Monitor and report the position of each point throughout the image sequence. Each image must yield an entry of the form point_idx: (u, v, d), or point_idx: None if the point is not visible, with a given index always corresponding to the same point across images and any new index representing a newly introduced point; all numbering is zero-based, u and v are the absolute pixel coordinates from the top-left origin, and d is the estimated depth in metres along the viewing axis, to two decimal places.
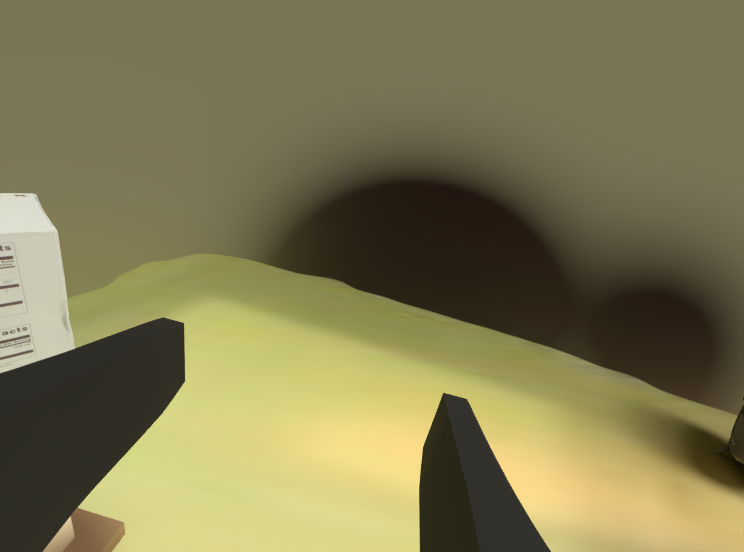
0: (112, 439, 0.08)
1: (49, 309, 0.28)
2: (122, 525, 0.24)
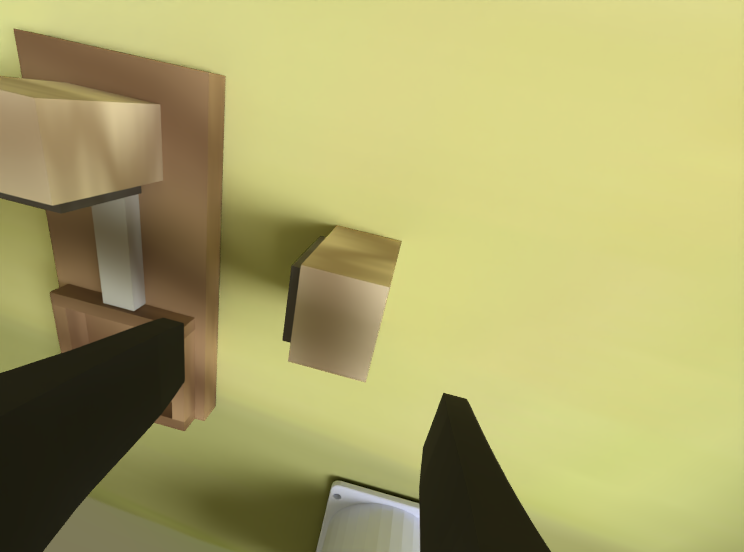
0: (112, 439, 0.08)
1: None
2: (210, 76, 0.14)
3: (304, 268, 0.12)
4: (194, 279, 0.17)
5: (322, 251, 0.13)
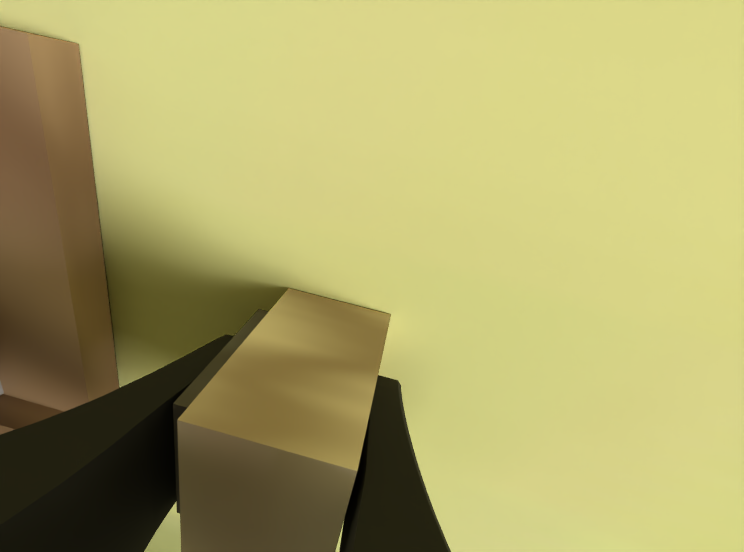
0: None
1: None
2: (34, 40, 0.08)
3: (185, 425, 0.06)
4: (66, 364, 0.11)
5: (240, 364, 0.07)
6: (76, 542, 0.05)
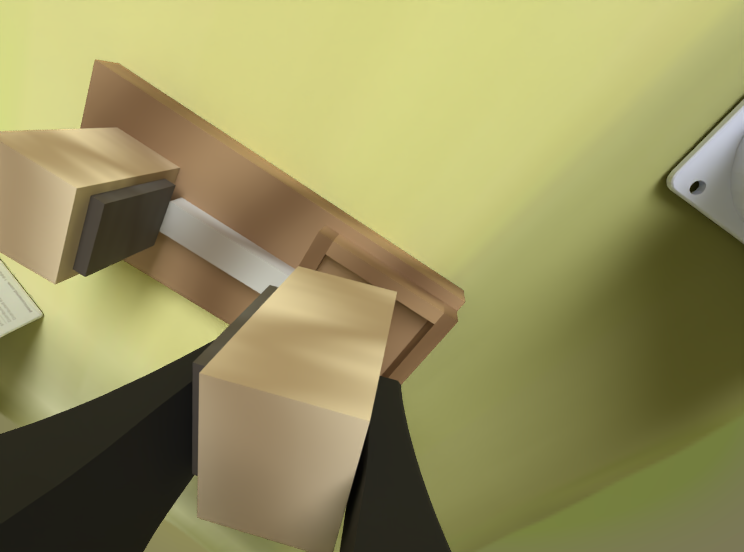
0: (186, 461, 0.08)
1: None
2: (100, 61, 0.15)
3: (206, 379, 0.06)
4: (282, 197, 0.16)
5: (255, 329, 0.08)
6: (75, 542, 0.05)
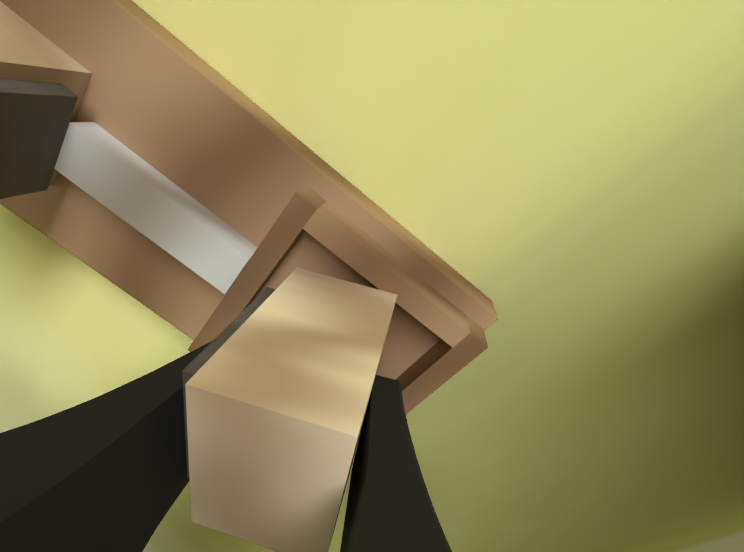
0: (185, 460, 0.08)
1: None
2: None
3: (192, 390, 0.06)
4: (245, 136, 0.10)
5: (247, 336, 0.07)
6: (74, 541, 0.05)
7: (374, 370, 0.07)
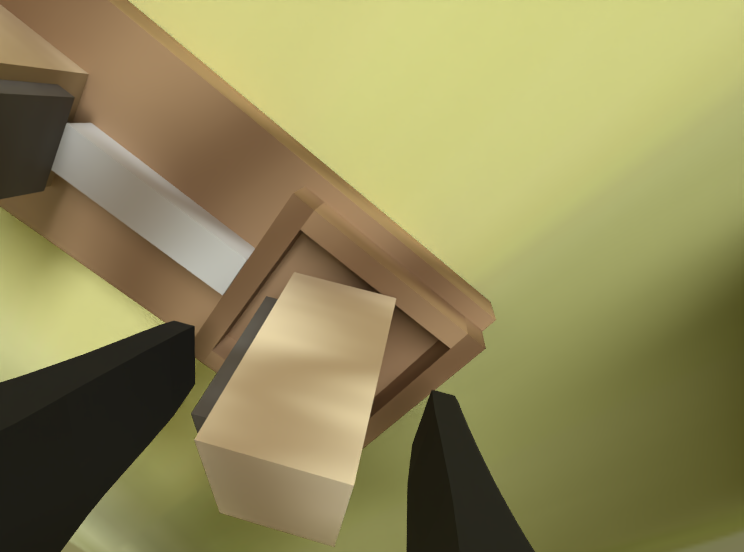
0: (125, 443, 0.08)
1: None
2: None
3: (201, 443, 0.07)
4: (243, 137, 0.10)
5: (248, 373, 0.08)
6: None
7: (370, 403, 0.08)
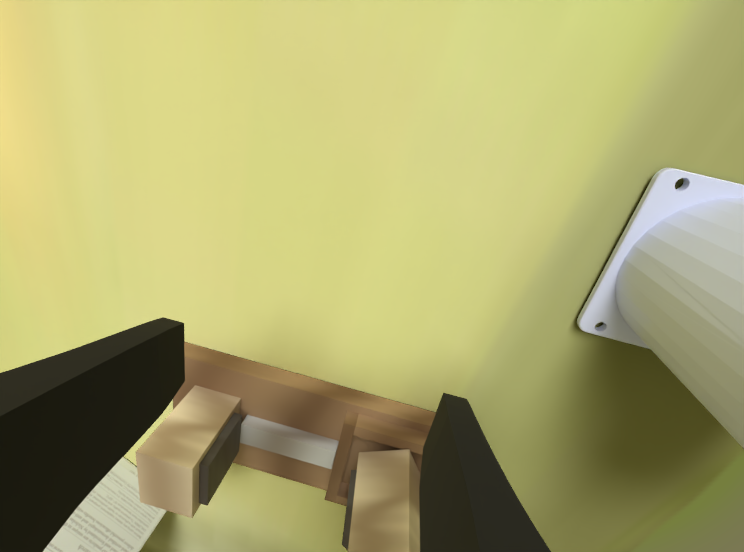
0: (112, 439, 0.08)
1: None
2: None
3: None
4: (312, 400, 0.22)
5: (356, 519, 0.19)
6: None
7: (408, 516, 0.18)
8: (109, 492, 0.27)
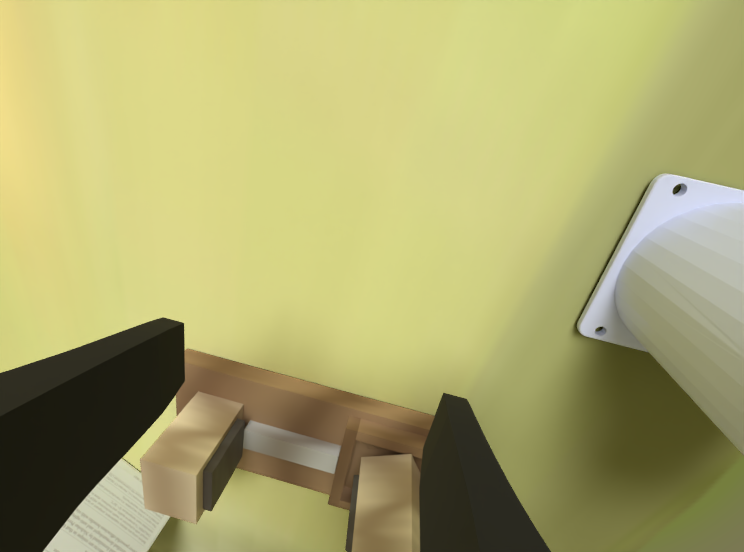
0: (112, 439, 0.08)
1: None
2: None
3: None
4: (314, 405, 0.22)
5: (359, 524, 0.19)
6: None
7: (411, 521, 0.18)
8: (113, 498, 0.27)
